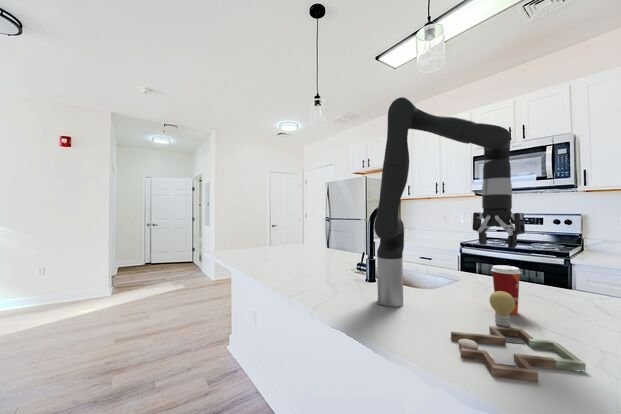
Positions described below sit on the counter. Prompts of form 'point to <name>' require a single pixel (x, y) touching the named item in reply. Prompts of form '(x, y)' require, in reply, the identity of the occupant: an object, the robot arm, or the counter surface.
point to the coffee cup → (507, 282)
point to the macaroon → (467, 344)
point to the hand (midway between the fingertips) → (496, 246)
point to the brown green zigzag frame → (522, 361)
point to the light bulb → (502, 307)
